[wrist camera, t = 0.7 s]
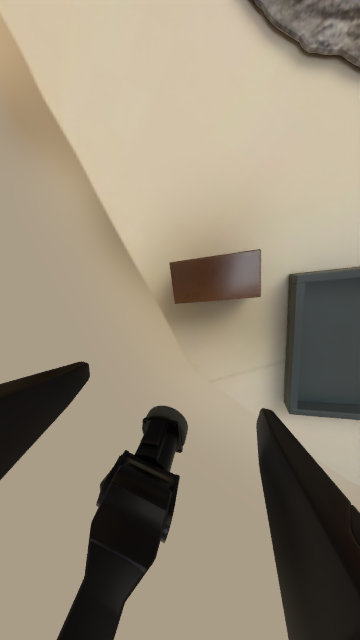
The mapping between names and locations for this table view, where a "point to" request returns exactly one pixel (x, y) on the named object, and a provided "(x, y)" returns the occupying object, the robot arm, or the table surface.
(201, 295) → the brown rectangular block
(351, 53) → the ancient coin
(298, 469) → the robot arm
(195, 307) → the table surface
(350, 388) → the tray
